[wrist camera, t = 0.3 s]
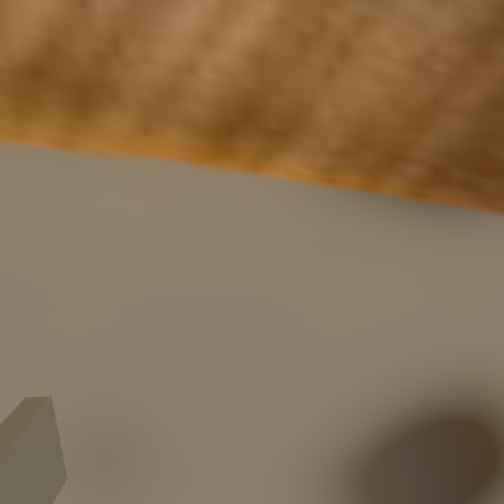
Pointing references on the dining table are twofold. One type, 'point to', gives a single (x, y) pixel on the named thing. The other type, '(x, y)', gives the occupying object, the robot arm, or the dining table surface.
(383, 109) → the dining table surface
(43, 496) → the robot arm
